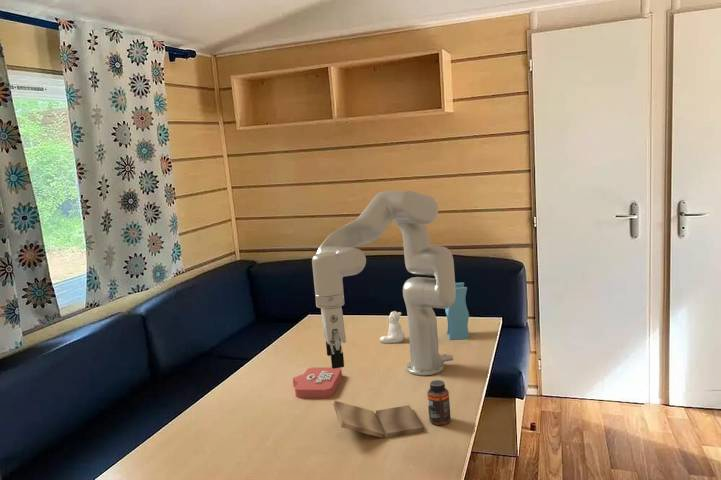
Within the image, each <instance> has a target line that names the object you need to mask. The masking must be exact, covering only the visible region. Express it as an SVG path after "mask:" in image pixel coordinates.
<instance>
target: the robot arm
mask: <svg viewBox="0 0 721 480" xmlns="http://www.w3.org/2000/svg"><path fill="white" fill-rule="evenodd" d="M438 214H439V205H438V202H437V201H436V199H435V198H434V197H433V196H430V195H427V194H423V193H420V192H416V191H413V190H384V191H383V190H382V191H379V192H378V193H376V194H375V196H373V198H372V199H371V200H370V202H369V203H368V204H367V205H366V207H365V208H364V210H362V212H361V213H360V214H359V216H358V217H357V218H355V220H352V221H350V222H348V223H347V224H346V223H345V224H344V225H342V226H340V227H339V228H337V229H335V230H334V231H332V232H331V233H330V234H329V235H328V236H327V237H326V238H325V240H323V242H322V243H321V244H320V246H319V247H318V249H317V251H316V253H315V255H313V257H312V259H311V266H312V275H313V276H312V277H313V285H314V296H315V306H316V308H319V309H320V312H321V313H320V314H321V322H322V329H323V334H324V335H323V336H324V338H325V348H326V355H327V356H328V357H330V359H331V367H332V368H333V369H335V368H341V369H342V368H344V367H345V360H344V352H343V347H342V343H343V344H346V342H347V339H346V332H345V322H344V320H345V319H344V314H343V309H342V306H344V305H345V294H344V283H343V279H344V277H350V276H355V275H358V274H360V273H361V272H362V271H363V270H364V268H365V267H366V265H367V258H366V255H365V253H364V251H363V250H362V249H360V248H358V247H359V246H363V245H366V244H369V243H372V242H375V241H377V240H379V239H380V238H381V237H382V235H383V234H384V233H385V231H387V228H388V227H389V226H390V224H392V223H391V222H393V223H394V224H395V225H396V226H397V227H398V228H399V230H400V232H401V236H402V244H403V255H404V264H405V265H404V266H405V269H406V270H407V272H408V273H411V274H413V275H423V276H434V277H433V278H432V277H422V276H415V277H410V278H408V279H407V280H406V281H404V284H403V286H402V297H403V300H404V303H405V307H406V313H407V324H408V340H409V353H410V362H408V363H407V364H406V371H407V372H408V373H410V374H412V375H417V376H432V375H437V374H439V373H441V372H442V371H443V370H445V362H451V361H452V362H453V361H454V356H453V354H449V355H448V354H447V353H442V354H441V353H439V339H438V338H439V337H438V321H437V316H436V315H437V314H436V313H435V311H434V309H444V310H445V309H446V308H450V307H451V306H452V305H453V304H454V301H455V296H456V289H455V283H456V277H455V263H454V262H455V261H454V257H453V253H452V252H451V251H450V249H449V248H448V247H445V246H443V245H442V246H441V245H431V243H430V236H429V235H430V234H429V230H428V227H427V224H428V225H429V224H432V223H433V222H434V221H435V220H436V219H437V217H438Z"/></svg>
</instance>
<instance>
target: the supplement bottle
mask: <svg viewBox="0 0 721 480" xmlns="http://www.w3.org/2000/svg"><path fill="white" fill-rule="evenodd" d="M426 395H427V406H428V407H427V408H428V419H429V420H428V421H429V422H430V423H431V424H433V425H435V426H445V425H447V424H448V423H450V422H451V405H450V392H449V389H448V388H446V384H445V381H444V380H440V379H436V380H432V381H430V383H429V389H428V390H427V394H426Z"/></svg>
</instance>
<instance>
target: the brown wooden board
mask: <svg viewBox="0 0 721 480" xmlns="http://www.w3.org/2000/svg"><path fill="white" fill-rule="evenodd" d="M374 413H375V415H376V417H377V420H378V422H379V424H380V426H381V428H382V430H383V432H384V436H383V439H387V438H391V437H399V436H404V435H410V434H415V433H421V432H422V433H423V432H424V426H423V425H422V424H421V422H420V419H419V418H418V416H417V415H416V413H415V412H414V410H413V409H412V406H410V404H407V405H402V406H395V407H390V408H384V409H379V410H375V412H374Z"/></svg>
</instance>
